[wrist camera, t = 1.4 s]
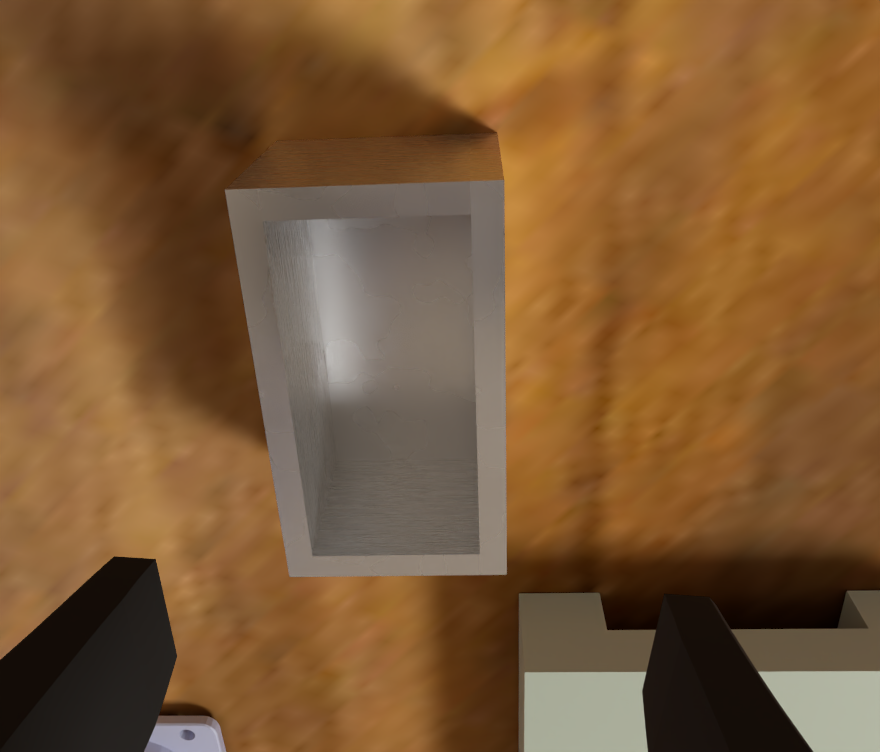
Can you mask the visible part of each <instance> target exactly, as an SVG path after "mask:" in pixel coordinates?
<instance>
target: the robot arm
mask: <svg viewBox="0 0 880 752" xmlns="http://www.w3.org/2000/svg"><path fill="white" fill-rule="evenodd" d="M176 658H177V654H176V649H175V645H174V640H173V636H172V631H171V626H170V622H169V617H168V613H167V608H166V604H165V599H164V595H163V590H162V586H161V581H160V577H159V572H158V568H157V563H156V559H144V558H129V557H113V558H112V559H111V560H110V561H109V562H107V563H106V564H105V565H104V566H103V567H102V568H101V569H100V570H99V571H97V572H96V573H95V574H94V575H93V576H92V577H91V578H90V579H89V580H88V581H86V582H85V583H84V584H83V585H82V586H81V587H80V588H79V589H78V590H77V591H76V592H75V593H73V594H72V595H71V596H70V597H69V598H68V599H67V600H66V601H65V602H64V603H63V604H62V605H61V606H59V607H58V608H57V609H56V610H55V611H54V612H53V613H52V614H51V615H50V616H49V617H48V618H46V619H45V620H44V621H43V622H42V623H41V624H40V625H39V626H38V627H37V628H36V629H34V630H33V631H32V632H31V633H30V634H29V635H28V636H27V637H26V638H24V639H23V640H22V641H21V642H20V643H19V644H18V645H17V646H15V647H14V648H13V649H12V650H11V651H10V652H9V653H8V654H6V655H5V656H4V657H3V658H2V659H1V660H0V752H226V749H225V745H224V741H223V737H222V733H221V729H220V726H219V724H218V722H217V721H216V720H215V719H213V718H211V717H209V716H159V713H160V710H161V707H162V704H163V701H164V698H165V695H166V692H167V688H168V685H169V681H170V678H171V675H172V671H173V668H174V665H175V661H176ZM642 696H643V707H644V718H645V729H646V738H647V748H648V752H813V750H812V749H811V748H810V746H809V745H808V743H807V742H806V741H805V739H804V738H803V736H802V735H801V734H800V732H799V731H798V729H797V728H796V727H795V725H794V724H793V722H792V721H791V720H790V718H789V717H788V715H787V714H786V712H785V711H784V710H783V708H782V707H781V705H780V704H779V702H778V701H777V700H776V698H775V697H774V695H773V694H772V692H771V691H770V689H769V688H768V686H767V685H766V683H765V682H764V680H763V679H762V677H761V676H760V674H759V673H758V671H757V670H756V668H755V667H754V665H753V663H752V662H751V660H750V659H749V657H748V656H747V654H746V653H745V651H744V649H743V648H742V646H741V645H740V643H739V642H738V640H737V638H736V637H735V635H734V634H733V632H732V630H731V629H730V627H729V625H728V624H727V622H726V621H725V619H724V617H723V616H722V614H721V612H720V611H719V609H718V607H717V606H716V604H715V603H714V602H713V601H712V600H711V599H710V597H702V596H687V595H672V594H664V598H663V602H662V606H661V611H660V615H659V619H658V624H657V628H656V632H655V637H654V641H653V645H652V650H651V654H650V658H649V663H648V667H647V672H646V676H645V680H644V685H643V689H642Z"/></svg>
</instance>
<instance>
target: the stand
mask: <svg viewBox="0 0 880 752" xmlns="http://www.w3.org/2000/svg"><path fill="white" fill-rule="evenodd" d="M731 630H732V632H733V634H734V635H735V637H736V638H737V640H738V642H739V643H740V645H741V646H742V648H743V649H744V651H745V653H746V654H747V656H748V657H749V659H750V660H751V662H752V663H753V665H754V667H755V668H756V670H757V671H758V673H759V674H760V676H761V677H762V679H763V680H764V682H765V683H766V685H767V686H768V688H769V689H770V691H771V692H772V694H773V695H774V697H775V698H776V700H777V701H778V702H779V704H780V705H781V707H782V708H783V710H784V711H785V712H786V714H787V715H788V717H789V718H790V720H791V721H792V722H793V724H794V725H795V727H796V728H797V729H798V731H799V732H800V734H801V735H802V736H803V738H804V739H805V741H806V742H807V743H808V745H809V746H810V748H811V749H812V750H813V752H880V590H872V591H846V595H845V599H844V603H843V607H842V611H841V615H840V619H839V624H838V628H837V629H731ZM655 632H656V630H607V627H606V622H605V617H604V612H603V607H602V602H601V597H600V593H519V752H648V748H647V738H646V729H645V718H644V707H643V696H642V689H643V685H644V680H645V676H646V672H647V667H648V663H649V658H650V654H651V650H652V645H653V641H654V637H655Z"/></svg>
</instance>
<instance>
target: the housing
mask: <svg viewBox="0 0 880 752" xmlns="http://www.w3.org/2000/svg"><path fill="white" fill-rule="evenodd" d="M225 194H226V200H227V206H228V212H229V218H230V224H231V230H232V236H233V242H234V248H235V254H236V260H237V266H238V272H239V278H240V284H241V290H242V296H243V302H244V307H245V313H246V319H247V325H248V331H249V337H250V343H251V349H252V355H253V361H254V367H255V373H256V379H257V385H258V391H259V397H260V403H261V409H262V415H263V421H264V427H265V433H266V439H267V445H268V451H269V457H270V463H271V469H272V475H273V481H274V487H275V493H276V499H277V505H278V511H279V517H280V522H281V528H282V534H283V540H284V546H285V552H286V558H287V564H288V570H289V576H290V577H328V576H432V575H507V532H506V382H505V233H504V176H503V169H502V162H501V155H500V148H499V141H498V134H497V133H473V134H447V135H420V136H393V137H367V138H340V139H313V140H287V141H276V142H275V143H274V144H273V145H271V146H270V147H269V148H268V149H267V150H266V151H265V152H264V153H263V154H262V155H261V156H260V157H259V158H258V159H257V160H256V161H255V162H254V163H252V164H251V165H250V166H249V167H248V168H247V169H246V170H245V171H244V172H243V173H242V174H241V175H240V176H239V177H238V178H237V179H236V180H235V181H233V182H232V183H231V184H230V185H229V186H228V187H227V188H226V189H225Z"/></svg>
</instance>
